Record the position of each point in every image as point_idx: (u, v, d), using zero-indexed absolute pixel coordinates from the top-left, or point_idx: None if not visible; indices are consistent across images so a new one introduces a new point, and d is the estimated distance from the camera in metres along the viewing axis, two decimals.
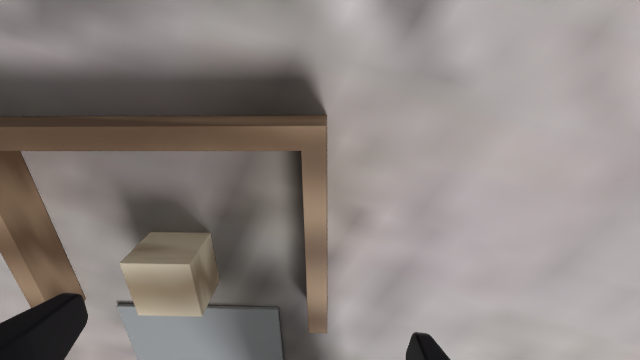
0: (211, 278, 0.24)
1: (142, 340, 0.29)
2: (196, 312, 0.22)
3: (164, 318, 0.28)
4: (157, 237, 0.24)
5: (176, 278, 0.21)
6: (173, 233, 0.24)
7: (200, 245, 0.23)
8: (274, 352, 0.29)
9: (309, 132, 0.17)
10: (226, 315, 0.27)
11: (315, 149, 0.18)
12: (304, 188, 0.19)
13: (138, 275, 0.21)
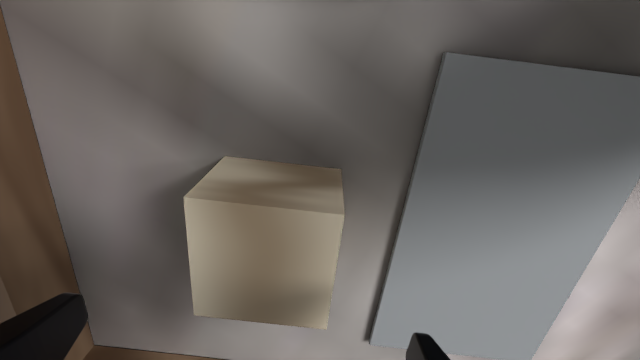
0: (306, 177, 0.12)
1: (456, 338, 0.16)
2: (330, 223, 0.09)
3: (413, 290, 0.15)
4: None
5: (224, 234, 0.10)
6: None
7: None
8: (596, 93, 0.11)
9: None
10: (433, 180, 0.12)
11: None
12: None
13: (222, 297, 0.11)
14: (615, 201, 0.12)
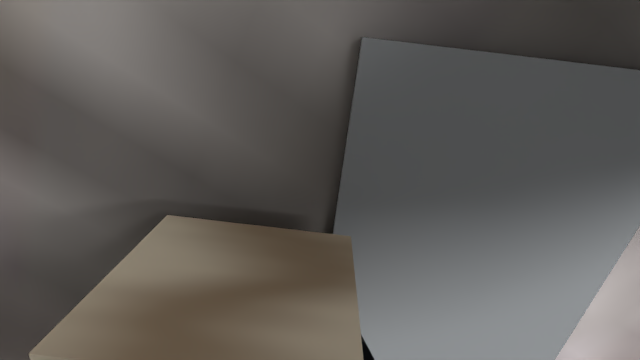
0: (293, 265, 0.07)
1: None
2: None
3: None
4: None
5: None
6: None
7: (123, 263, 0.06)
8: (585, 95, 0.07)
9: None
10: (364, 216, 0.09)
11: None
12: None
13: None
14: (614, 243, 0.09)
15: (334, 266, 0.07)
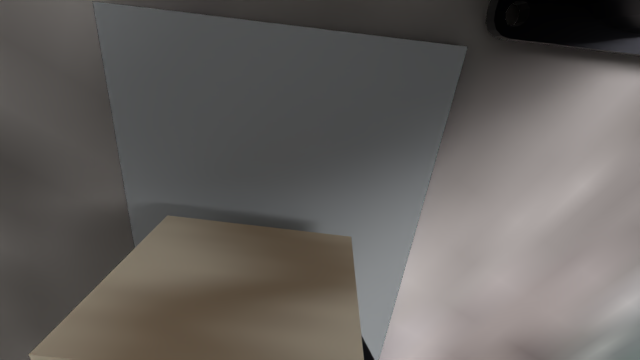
0: (293, 266, 0.07)
1: None
2: None
3: None
4: None
5: None
6: None
7: (123, 263, 0.06)
8: (330, 62, 0.07)
9: None
10: (151, 188, 0.09)
11: None
12: None
13: None
14: (405, 217, 0.09)
15: (334, 266, 0.07)
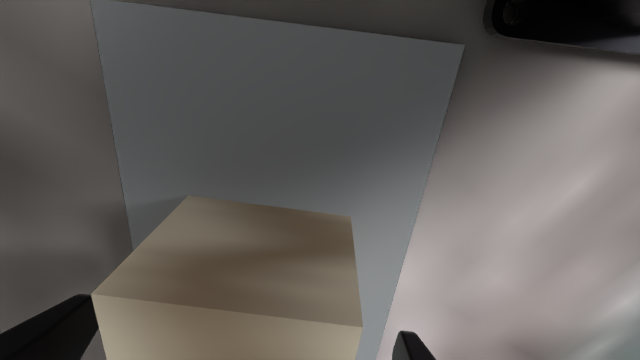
0: (301, 237, 0.08)
1: None
2: (338, 337, 0.06)
3: None
4: None
5: (165, 347, 0.06)
6: None
7: None
8: (327, 60, 0.07)
9: None
10: (149, 185, 0.09)
11: None
12: None
13: None
14: (403, 215, 0.09)
15: (336, 239, 0.08)
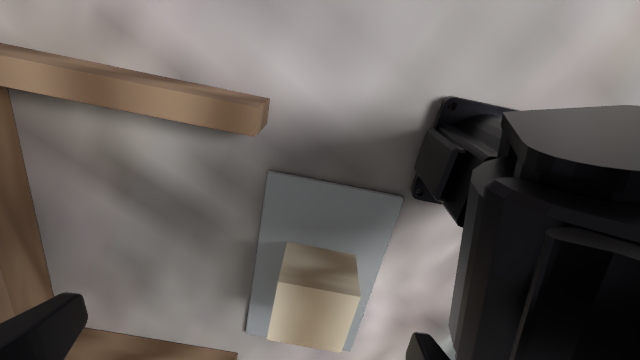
0: (337, 264, 0.20)
1: None
2: (352, 300, 0.18)
3: (268, 300, 0.23)
4: None
5: (295, 300, 0.18)
6: None
7: (283, 259, 0.19)
8: (352, 198, 0.20)
9: None
10: (271, 236, 0.21)
11: None
12: None
13: (285, 331, 0.19)
14: (377, 256, 0.21)
15: (350, 265, 0.20)
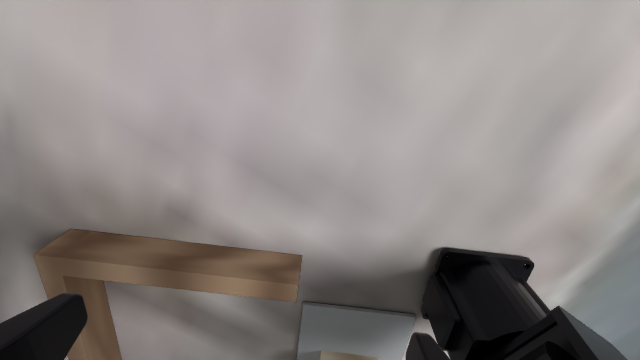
0: None
1: None
2: None
3: None
4: None
5: None
6: None
7: None
8: (373, 319, 0.24)
9: (43, 267, 0.19)
10: (307, 347, 0.25)
11: (58, 265, 0.19)
12: (99, 278, 0.20)
13: None
14: (397, 357, 0.25)
15: None
